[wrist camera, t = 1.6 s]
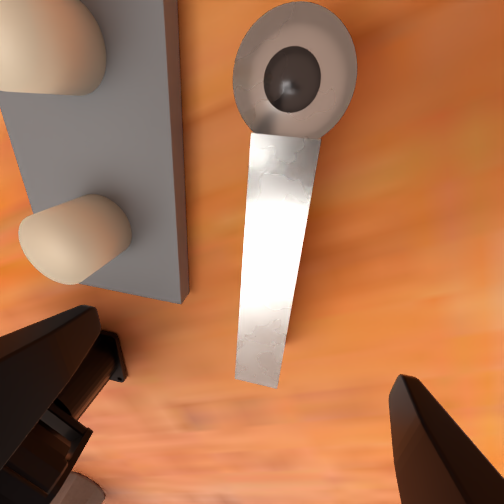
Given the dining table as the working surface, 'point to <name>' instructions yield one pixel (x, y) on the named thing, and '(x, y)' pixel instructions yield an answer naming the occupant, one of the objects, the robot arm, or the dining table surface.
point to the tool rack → (98, 141)
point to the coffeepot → (79, 491)
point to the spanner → (283, 162)
